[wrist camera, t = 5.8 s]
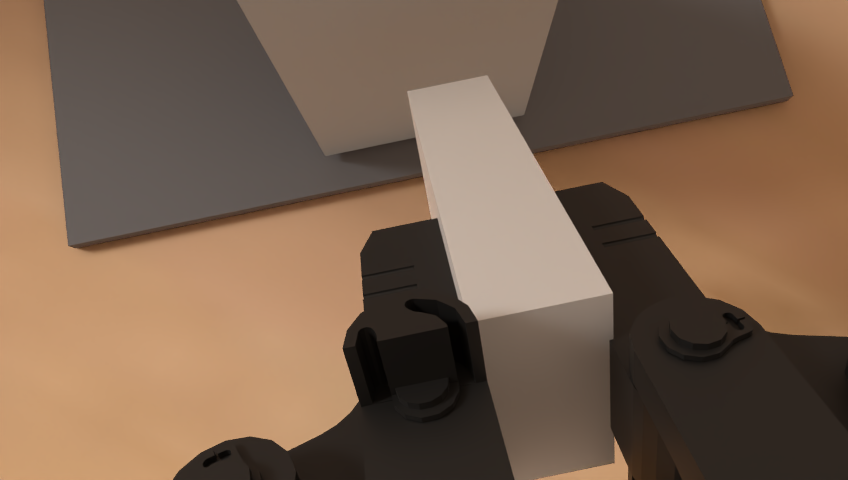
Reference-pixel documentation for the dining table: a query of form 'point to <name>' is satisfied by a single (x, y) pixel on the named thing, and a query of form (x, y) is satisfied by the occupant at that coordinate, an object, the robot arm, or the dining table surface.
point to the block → (394, 57)
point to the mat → (292, 138)
